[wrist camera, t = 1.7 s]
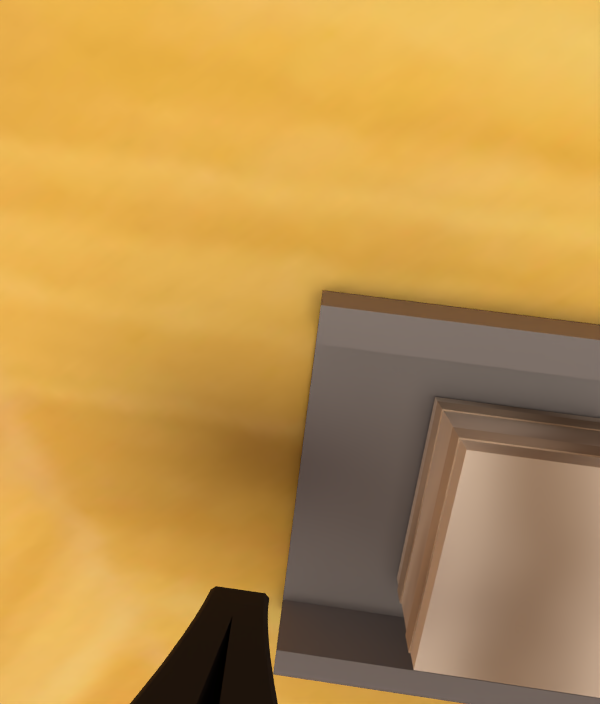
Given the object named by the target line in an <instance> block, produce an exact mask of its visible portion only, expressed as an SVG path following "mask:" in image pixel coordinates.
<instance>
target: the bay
mask: <svg viewBox="0 0 600 704" xmlns="http://www.w3.org/2000/svg"><path fill="white" fill-rule="evenodd" d="M435 397H440V398H448V399H456V400H463V401H471V402H478V403H486V404H494V405H501V406H509V407H517V408H524V409H532V410H539V411H547V412H555V413H562V414H570V415H578V416H585V417H593V418H600V325H596V324H588V323H580V322H572V321H564V320H556V319H548V318H540V317H531V316H523V315H515V314H507V313H499V312H491V311H483V310H475V309H467V308H459V307H451V306H443V305H435V304H427V303H419V302H411V301H403V300H395V299H387V298H379V297H371V296H363V295H355V294H347V293H339V292H331V291H323V293H322V301H321V309H320V317H319V324H318V332H317V340H316V348H315V355H314V363H313V371H312V379H311V386H310V394H309V402H308V410H307V417H306V425H305V433H304V441H303V448H302V456H301V464H300V472H299V479H298V487H297V495H296V502H295V510H294V518H293V526H292V533H291V541H290V549H289V557H288V564H287V572H286V580H285V588H284V595H283V603H282V611H281V619H280V626H279V634H278V642H277V650H276V657H275V665H274V673H273V674H275V675H281V676H288V677H295V678H301V679H308V680H314V681H321V682H327V683H334V684H341V685H347V686H354V687H360V688H367V689H373V690H380V691H387V692H393V693H400V694H406V695H413V696H420V697H426V698H433V699H439V700H446V701H452V702H459V703H466V704H600V698H597V697H590V696H583V695H577V694H570V693H563V692H557V691H550V690H543V689H537V688H530V687H523V686H517V685H510V684H504V683H497V682H490V681H484V680H477V679H470V678H464V677H457V676H450V675H444V674H437V673H430V672H424V671H417V670H414V669H413V664H412V659H411V653H408V647H407V641H406V636H405V635H406V626H405V620H404V615H403V609H402V604H400V602H399V596H398V591H397V588H398V582H397V575H398V570H399V566H400V561H401V556H402V551H403V547H404V542H405V537H406V533H407V528H408V523H409V518H410V514H411V509H412V504H413V499H414V495H415V490H416V485H417V481H418V476H419V471H420V466H421V462H422V457H423V452H424V448H425V443H426V438H427V433H428V429H429V424H430V419H431V414H432V410H433V405H434V400H435Z"/></svg>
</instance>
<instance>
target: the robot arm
mask: <svg viewBox="0 0 600 704" xmlns="http://www.w3.org/2000/svg"><path fill="white" fill-rule="evenodd" d="M268 603H269V597H268V596H267V595H266V594H265V593H258V592H252V591H245V590H238V589H231V588H224V587H217V586H216V587H214V588H213V589H211V590H210V592H209V594H208V596H207V598H206V600H205V601H204V603H203V605H202V607H201V608H200V610H199V612H198V613H197V615H196V616H195V618H194V619H193V621H192V622H191V624H190V625H189V627H188V628H187V630H186V631H185V633H184V634H183V636H182V637H181V639H180V640H179V641H178V643H177V644H176V645H175V647H174V648H173V650H172V651H171V652H170V654H169V655H168V657H167V658H166V659H165V661H164V662H163V663H162V665H161V666H160V667H159V669H158V670H157V671H156V672H155V674H154V675H153V676H152V677H151V678H150V680H149V681H148V682H147V683H146V685H145V686H144V687H143V688H142V690H141V691H140V692H139V693H138V695H137V696H136V697H135V698H134V700H133V701H132V702H131V703H130V704H278V703H277V697H276V692H275V686H274V679H273V672H272V666H271V659H270V650H269V638H268Z"/></svg>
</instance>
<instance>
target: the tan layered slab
mask: <svg viewBox="0 0 600 704" xmlns="http://www.w3.org/2000/svg"><path fill="white" fill-rule="evenodd" d="M397 582H398V588H397V591H398V596H399V602H400V604H402V609H403V615H404V620H405V626H406V635H405V636H406V641H407V647H408V653H411V659H412V664H413V669H414V670H417V671H424V672H430V673H437V674H444V675H450V676H457V677H464V678H470V679H477V680H484V681H490V682H497V683H504V684H510V685H517V686H523V687H530V688H537V689H543V690H550V691H557V692H563V693H570V694H577V695H583V696H590V697H597V698H600V418H593V417H585V416H578V415H570V414H562V413H555V412H547V411H539V410H532V409H524V408H517V407H509V406H501V405H494V404H486V403H478V402H471V401H463V400H456V399H448V398H440V397H435V400H434V405H433V410H432V414H431V419H430V424H429V429H428V433H427V438H426V443H425V448H424V452H423V457H422V462H421V466H420V471H419V476H418V481H417V485H416V490H415V495H414V499H413V504H412V509H411V514H410V518H409V523H408V528H407V533H406V537H405V542H404V547H403V551H402V556H401V561H400V566H399V570H398V575H397Z"/></svg>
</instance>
